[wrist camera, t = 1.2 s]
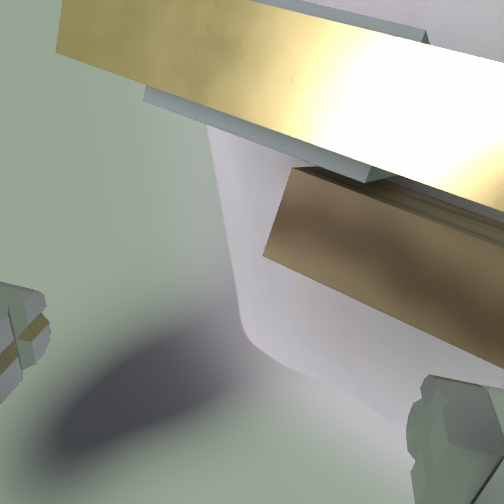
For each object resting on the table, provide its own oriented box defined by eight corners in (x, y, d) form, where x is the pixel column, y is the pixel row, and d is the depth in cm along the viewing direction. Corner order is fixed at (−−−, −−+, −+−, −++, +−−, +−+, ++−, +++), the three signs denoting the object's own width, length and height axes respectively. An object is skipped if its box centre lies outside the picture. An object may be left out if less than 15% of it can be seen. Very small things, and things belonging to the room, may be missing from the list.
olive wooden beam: (117, -20, 21) (68, -45, 19) (696, 131, 14) (753, 125, 11) (102, 64, 23) (55, 52, 20) (622, 247, 15) (656, 266, 12)
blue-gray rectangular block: (326, 70, 43) (170, -31, 20) (447, 105, 39) (425, 30, 16) (305, 130, 45) (143, 100, 22) (419, 169, 41) (364, 183, 18)
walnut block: (343, 165, 44) (292, 167, 31) (545, 238, 38) (589, 281, 25) (319, 228, 46) (262, 255, 33) (505, 307, 40) (526, 379, 27)
